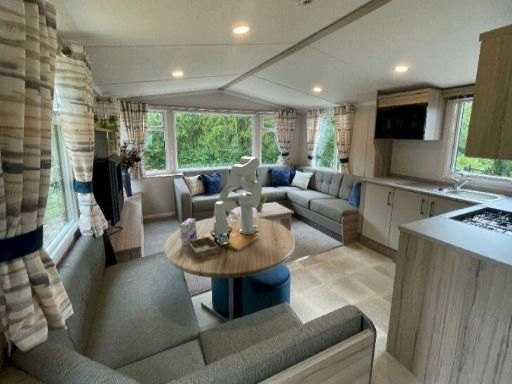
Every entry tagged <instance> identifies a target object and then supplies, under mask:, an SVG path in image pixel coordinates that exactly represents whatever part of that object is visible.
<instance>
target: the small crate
mask: <svg viewBox="0 0 512 384" xmlns="http://www.w3.org/2000/svg"><path fill="white" fill-rule="evenodd" d="M222 237H223V238H222ZM216 238H217V240H218V241H219V242H220V244H219V246H220V247H221V246H222V243H224V242H229V241H230V238H228V237H227V234H226V233H224V234H220V235H217V237H216ZM221 238H222V239H221ZM229 243H230V242H229Z"/></svg>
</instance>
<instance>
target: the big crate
mask: <svg viewBox="0 0 512 384" xmlns="http://www.w3.org/2000/svg"><path fill="white" fill-rule="evenodd" d="M187 244H188V246H187V250H189V252H190V251H191V252H190V253H191V254H192V255H194V256H193V257H194V258H195V260H196V259H197V260H201V259H204V258H208V257H211V256H215V255H219V254H221V245H220V244H219V243H216V242H214V239H212V238H211V237H210V235H208V236H204V237H200V238H197V239H195V240H191V241H187Z"/></svg>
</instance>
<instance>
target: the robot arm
mask: <svg viewBox="0 0 512 384" xmlns="http://www.w3.org/2000/svg"><path fill="white" fill-rule="evenodd" d="M259 166H260V160H259V159H258V157H255V156H242V157H240V158H239V164H234V165H232V167H231V169H230V172H229V177H228V181H227V184H226V185H225V186H224V187H223V189H222V190H221V191H220V193H219V197H218V201H215V202H214V218H215V220H214V221H213V230H210V232H209V234H210V235H211V236H212V237H213V241H214V242H216V243H217V238H216V237H217V235H220V234H226V236H227V237H228V238H229V239H230V237H231V236H230V235H231V233H232V231H233V227H232V226H229V222H228V215H226V214H227V211H228V212H230V211H234V209H236V207H237V202H236V201H235V200H233V199H229V198H228V197H229V194H230V193H231V192H232V191H234V190H236V189H237V190H238V188H239V186H240V183H241V179H242V177H243V181H242V182H243V184H242V190H243V191H244V192H245V193H244V192H243V193H242V194H240V195H239V197H238V202H239V207H240V227H241V229H239V232H240V231H242V232H243V233H244V234H250V235H252V234H253V235H254V234H255V233H256V229H258V228H259V225H255V224H254V210H253V209H256V208H258V207H259V205H260V203H261V198H262V192H263V191H262V190H263V185H262V184H261V182H260V181H258V180H256V170H257V169H258V168H259ZM246 192H247V193H246ZM244 234H243V235H244ZM217 244H218V243H217Z"/></svg>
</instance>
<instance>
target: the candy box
mask: <svg viewBox="0 0 512 384" xmlns="http://www.w3.org/2000/svg"><path fill="white" fill-rule="evenodd" d="M196 223H197V222H196V218H191V217H190V218H187V219H186V220H184V221H183V222H182V223H180V224H179V228H180V229H179V230H180V238H181V239H180V240H181V246H184V247H188V244H187V241H191V240H195V239H198V235H197V234H198V233H197V224H196Z"/></svg>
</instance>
